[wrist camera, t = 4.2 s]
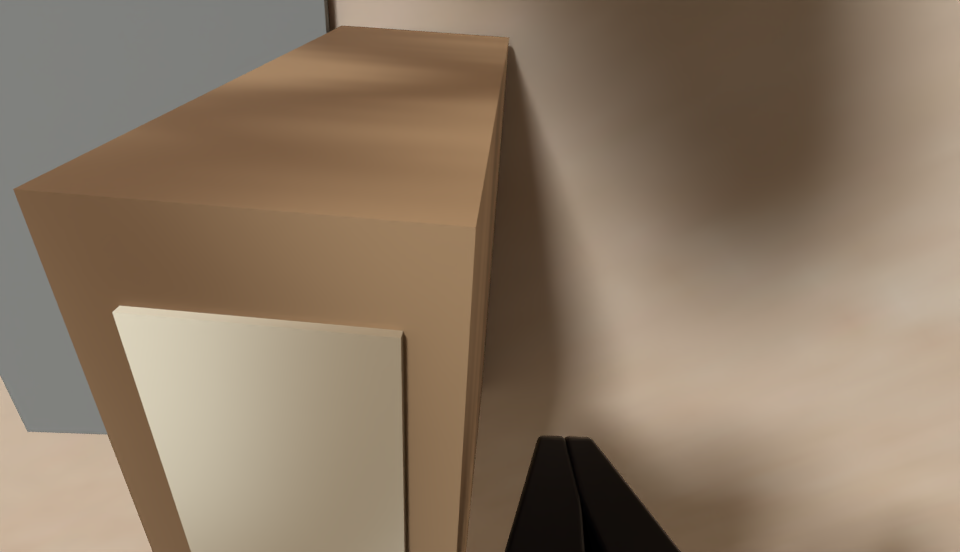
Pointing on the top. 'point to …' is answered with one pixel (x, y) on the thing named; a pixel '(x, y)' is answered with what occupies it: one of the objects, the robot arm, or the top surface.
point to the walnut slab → (292, 295)
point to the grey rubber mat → (101, 140)
